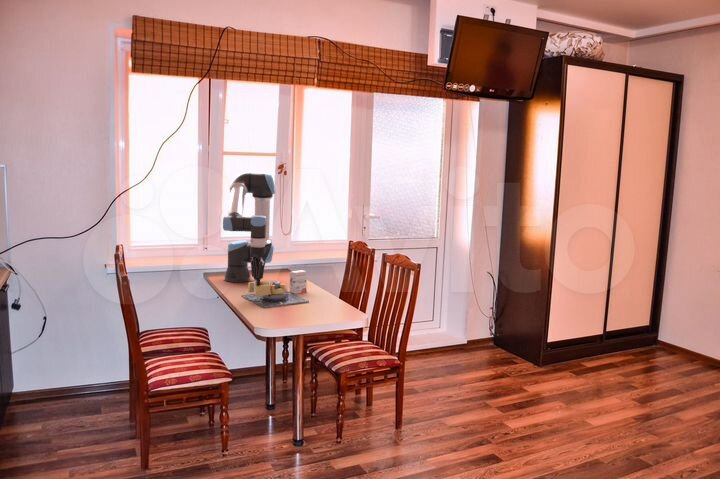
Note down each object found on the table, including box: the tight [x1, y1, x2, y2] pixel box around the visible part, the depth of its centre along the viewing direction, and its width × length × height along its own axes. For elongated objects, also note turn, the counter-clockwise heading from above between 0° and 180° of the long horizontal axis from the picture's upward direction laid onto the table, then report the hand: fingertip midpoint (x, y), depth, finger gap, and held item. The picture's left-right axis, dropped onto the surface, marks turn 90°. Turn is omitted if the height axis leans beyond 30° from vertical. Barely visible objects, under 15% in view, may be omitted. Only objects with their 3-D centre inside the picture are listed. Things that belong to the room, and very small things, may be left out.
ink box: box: [289, 270, 308, 295], centre depth 324 cm, size 9×5×12 cm, turn 135°
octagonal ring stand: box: [247, 280, 288, 296], centre depth 304 cm, size 18×11×5 cm, turn 126°
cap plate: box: [240, 281, 310, 309], centre depth 306 cm, size 26×26×9 cm
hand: (256, 291), depth 300 cm, fingers closed
